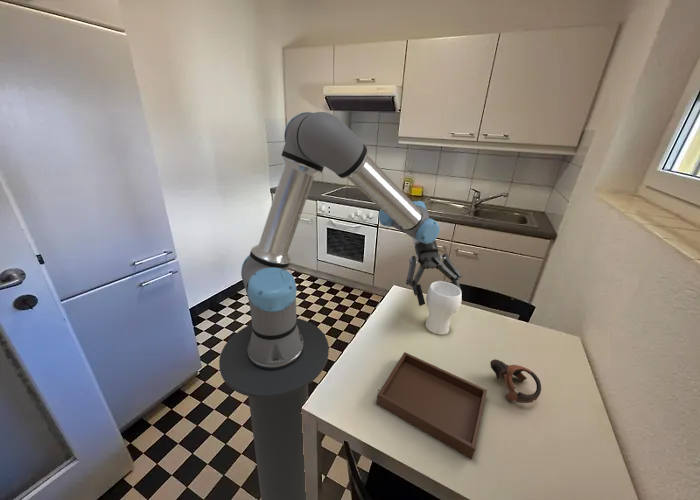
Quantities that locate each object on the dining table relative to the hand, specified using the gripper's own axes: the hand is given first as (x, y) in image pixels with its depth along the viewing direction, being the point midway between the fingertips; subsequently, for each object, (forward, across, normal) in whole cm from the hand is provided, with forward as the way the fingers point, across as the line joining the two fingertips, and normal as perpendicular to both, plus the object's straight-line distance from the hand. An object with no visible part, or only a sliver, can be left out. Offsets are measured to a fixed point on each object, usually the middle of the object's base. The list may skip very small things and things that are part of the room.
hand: (440, 302), depth 91 cm
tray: (+24, -17, -12) cm, 32 cm away
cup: (+7, 0, +6) cm, 9 cm away
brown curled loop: (+26, +6, -12) cm, 29 cm away
